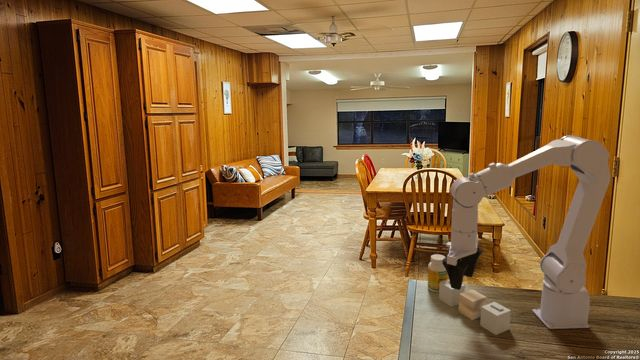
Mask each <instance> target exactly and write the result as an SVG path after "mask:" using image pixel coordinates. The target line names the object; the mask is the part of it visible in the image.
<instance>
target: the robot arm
mask: <svg viewBox="0 0 640 360" xmlns="http://www.w3.org/2000/svg"><path fill="white" fill-rule="evenodd" d="M610 156H611V153H610V152H609V151H608V150H607V148H606V147H605V146H604V145H603V144H602V143H601V142H600V141H597V140H594V139H587V138H583V137H580V136H578V135H573V134H571V135H570V134H567V135H564V136H563V137H561V138H559V139H554V140H552V141H550V142H549V143H547V144H546V145H544V146H542V147H540V148H538V149H536V150H535V151H532V152H530V153H528V154H526V155H524V156H523V157H520V158H518V159H516V160H514V161H512V162H510V163H508V164H505V163H503V162H498V163H495V162H491V163H489V164H488V165H487V166H488V167H486V168H484V169H482V170H480V171H478V172H475V173H473V172H471V173H468V177H464V176H461V177H458V178H457V179H454V181H453V182H452V184H451V186H450V187H449V194H450V195H451V196H452V198H453V199H452V209H451V223H450V224H451V226H450V227H451V230H450V231H451V232H450V237H451V238H450V241H448V242H447V243H446V244H445V247H446V248H449V251H448V254H447V256H445V258H444V259H443V261H442V263H443V265H444V267H445V269H446V271H447V273H448V279H449V281H450V285H451V288H454V289H457V290H460V289H461V286H462V284H463V281H464V277H467V278H468V277H469V278H473V276H474V273H475V270H476V266H477V263H478V260H479V258H480V256H481V255H482V253H483V251H484V250H483V249H482V248H481V247H478V246H479V237H478V219H479V218H478V217H479V211H478V209H479V204H480V203H481V202H482V200H483V198H485V197H488V196H490V195H493V194H495V193H497V192H499V191H502V190H505V189H507V188H508V187H511V186H512V185H513V184H514V180H515V179H516V178H518V177H521V176H524V175H527V174H529V173H532V172H534V171H536V170H539V169H542V168H545V167H548V166H550V165H555V166H563V167H564V166H565V167H569V168H570V170H572V172H573V174H574V175H575V176H576V177H577V179H578V182H577V186H576V188H575V191H574V195H573V196H572V200H571V203H570V205H569V208H568V210H567V213H566V217H565V220H564V223H563V225H562V228H561V231H560V234H559V237H558V239H557V241H556V243H554V244H552V245H551V246H549V248H548V251H547V252H546V254H545V255H544V256H543V257H542V258H541V260H540V261H539V268H540V270H541V272H542V273H543V275H544V276H543V280H542V288H541V289H542V290H541V299H540V308H532V313H533V314H534V315H535V316H536V317H537V318H538V319H539V320H540V321H541V322H542V323H543V324H544V325H545V326H546V328H547V329H550V330H556V329H557V330H558V329H559V330H560V329H561V330H563V329H588V328H590V325H589V324H588V321H589V313H590V305H591V298H590V297H591V296H590V293H589V291H588V290H587V288H586V287H585V284H586V281H587V280H586V279H587V278H586V277H587V276H586V270H587V266H588V264H587V261H586V257H585V254H584V251H585V248H586V246H587V245H588V244H587V243H588V242H589V238H590V235H591V232H592V230H593V226H594V224H595V222H596V219H597V217H598V213H599V211H600V208H601V205H602V203H603V200H604V197H605V195H606V193H607V190H608V188H609V185H610V181H611V172H610V166H609V159H610Z"/></svg>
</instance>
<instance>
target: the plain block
mask: <svg viewBox="0 0 640 360" xmlns="http://www.w3.org/2000/svg"><path fill="white" fill-rule="evenodd" d="M485 305H487V296H486V295H483V294H481V293H480V292H478V291H476V290H474V289H469V290H466V291H465V292H463V293H460V294H459V304H458V310H457V311H458V313H460V314H462V315H463V316H465V317H466V318H468V319H469V320H471V321H473V320H476V319H478V318H481V307H482V306H485Z"/></svg>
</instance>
